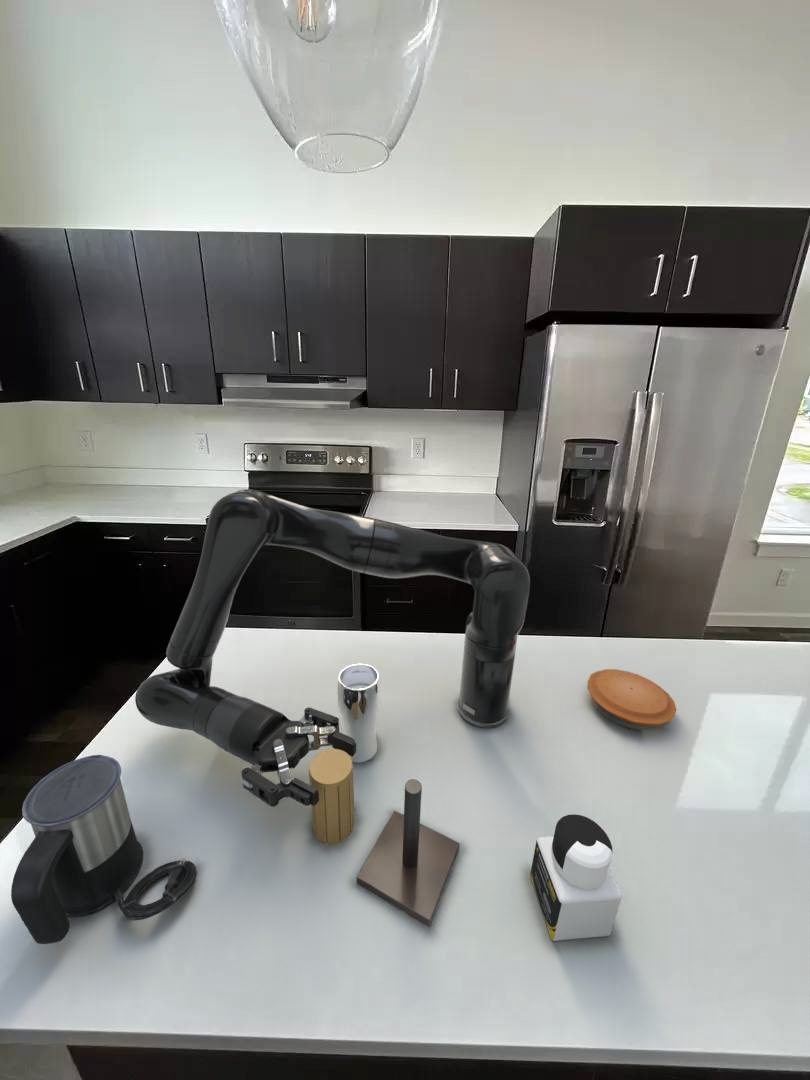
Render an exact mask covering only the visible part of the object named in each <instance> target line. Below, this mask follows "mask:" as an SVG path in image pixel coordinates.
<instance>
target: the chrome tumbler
mask: <svg viewBox="0 0 810 1080" xmlns="http://www.w3.org/2000/svg"><path fill="white" fill-rule="evenodd" d="M379 673H380V672H379V671H378V670H377V669H376V668H375V667H374V666H372V665H370V664H366V663H354V664H350V665H347V666H345V667H344V668H342V669H341V670H340V671H339V673H338V676H337V691H336V694H337V695H336V699H337V701H336V702H337V710H338V714H339V718H340V719H339V720H340V722H341V727H342V731H343V732H342V733H343V734H345V735H346V736H349V737H351V738H353V739H354V740H355V743H356V753H355V754H354V756H350V755H349V756H350V758H351V760H352V763H355V764H356V763H358V764H361V763H365V762H367V761H370V760H371V759H372V758H373V757H375V755H376V754H377V751H378V742H377V738H376V737H377V736H376V726H377V722H378V721H377V720H378V717H379V712H380V708H381V707H380V706H381V685H380V674H379Z"/></svg>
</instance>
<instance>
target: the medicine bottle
mask: <svg viewBox="0 0 810 1080" xmlns="http://www.w3.org/2000/svg"><path fill="white" fill-rule="evenodd" d="M612 859H613V844H612V842H611V840H610V837H609V835H608V834H607V833H606V831H605V830H604V829H603V828H602V827H601V826H600V825H599V824H598V823H596V821H594V820H592V819H591V818H589V817H587V816H585V815H582V814H574V813H572V814H567V815H563V816H562V817H560V818H559V819H558V821H557V822H556V825H555V829H554V833H553V835H551V836H549V835H548V836H538V837H536V840H535V846H534V852H533V857H532V863H531V867H530V872H529V873H530V875H529V877H530V879H531V882H532V886H533V889H534V892H535V895H536V898H537V901H538V904H539V907H540V911H541V914H542V916H543V918H544V922H545V924H546V928H547V931H548V934H549V937H550V939H551V940H552V941H553V942H559V941H568V940H581V939H589V938H590V939H592V938H600V937H601V938H602V937H609V936H611V935H612V930H613V927H614V925H615V921H616V917H617V914H618V912H619V908H620V904H621V901H622V898H623V895H622V892H621V891H620V888H619V887H618V885H617V883H616V880H615V878H614V876H613V875H612V872H611V870H610V866H611V861H612Z"/></svg>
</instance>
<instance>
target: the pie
mask: <svg viewBox="0 0 810 1080" xmlns="http://www.w3.org/2000/svg"><path fill="white" fill-rule="evenodd" d="M586 688H587V691H588V693H589V695H590V697H591V698H592V699H593V701H594V702H595V704H596V706H597V708H598V710H599V711H600V712H601V714H602V715H604V716H605V717H606V718H607V719H609V720H610V721H612V722H613V723H615V724H617V725H619V726H622V727H624V728H627V729H630V730H636V731H649V730H651V729H654V728H656V727H659V726H661V725H664V724H667V723H670V722H671V720H672V719H673V718H674V717H675V715H676V713H677V706H676V702H675V701H674V699H673V698H672V696H671V695H670V694H669V693H668V692H667V691H666V690H665V689H663V687H661V686H660V685H659V684H657V683H655V682H654V681H652V680H651V679H649V678H647V677H644V676H642V675H641V674H638V673H634V672H632V671H629V670H628V671H626V670H622V669H617V668H609V669H608V668H607V669H601V670H596V671H595V672H592V673H591V674H590V675H589V677H588V680H587V686H586Z"/></svg>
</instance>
